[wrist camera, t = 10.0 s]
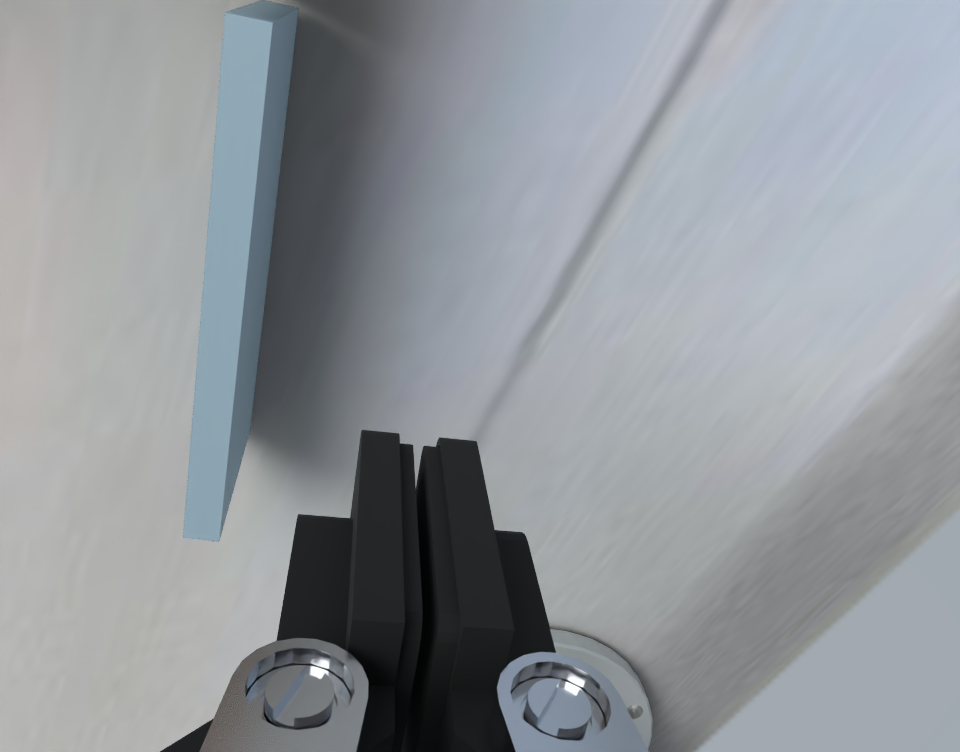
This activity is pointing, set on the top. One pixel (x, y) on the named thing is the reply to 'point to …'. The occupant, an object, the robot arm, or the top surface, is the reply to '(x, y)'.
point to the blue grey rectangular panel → (237, 252)
